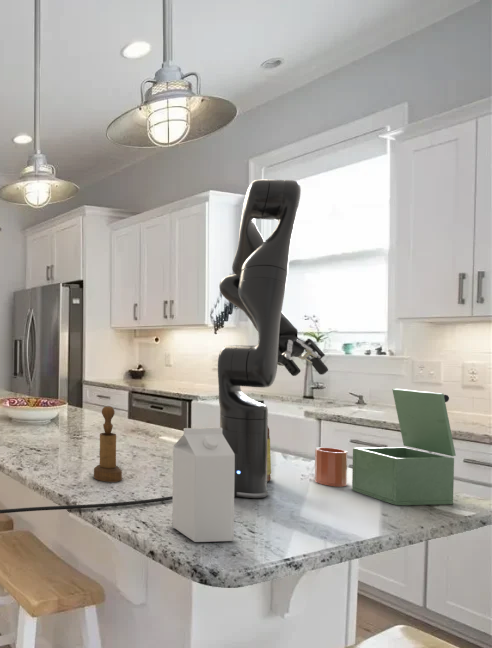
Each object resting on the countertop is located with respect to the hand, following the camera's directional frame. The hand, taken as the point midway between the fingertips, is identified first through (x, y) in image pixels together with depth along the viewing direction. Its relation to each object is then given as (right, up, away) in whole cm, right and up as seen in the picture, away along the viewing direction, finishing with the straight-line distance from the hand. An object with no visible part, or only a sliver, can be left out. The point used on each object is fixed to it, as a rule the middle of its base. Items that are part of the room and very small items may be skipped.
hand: (311, 373), depth 125 cm
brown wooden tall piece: (-51, -26, 0) cm, 58 cm away
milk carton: (-46, -27, -36) cm, 65 cm away
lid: (+13, -10, -15) cm, 22 cm away
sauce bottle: (-15, -26, -2) cm, 30 cm away
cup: (+1, -26, -5) cm, 27 cm away
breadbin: (+8, -26, -15) cm, 32 cm away
